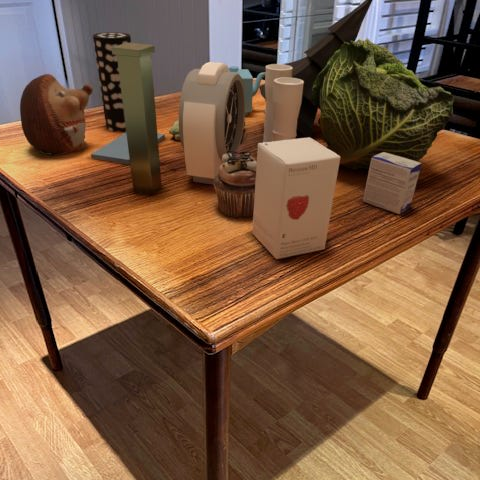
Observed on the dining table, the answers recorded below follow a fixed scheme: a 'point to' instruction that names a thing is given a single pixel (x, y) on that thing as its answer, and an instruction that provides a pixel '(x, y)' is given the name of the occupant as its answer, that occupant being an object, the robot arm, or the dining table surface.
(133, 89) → the olive green post
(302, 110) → the decorative tree
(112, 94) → the white-spotted black cylinder
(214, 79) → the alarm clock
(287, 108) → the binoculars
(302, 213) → the rectangular carton
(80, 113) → the figurine
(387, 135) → the cabbage
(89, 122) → the dining table surface
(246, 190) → the cupcake
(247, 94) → the teapot
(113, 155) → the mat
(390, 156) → the box
